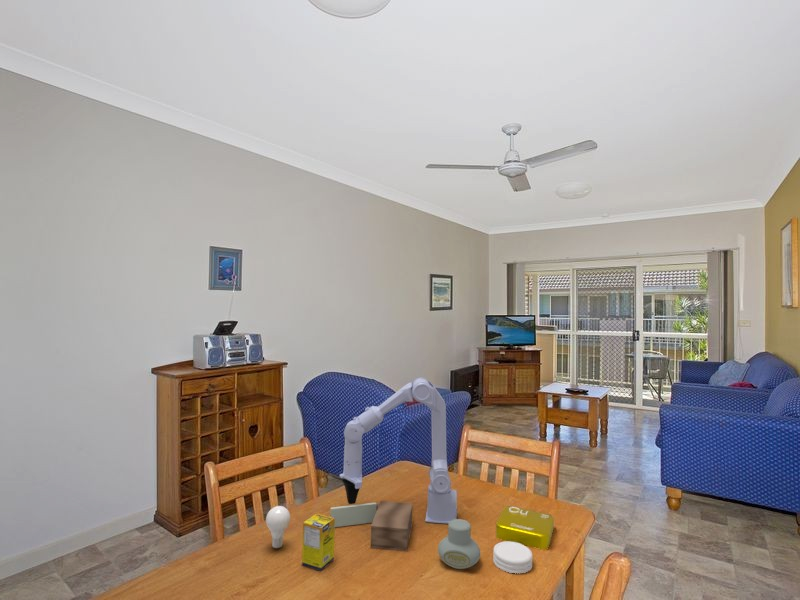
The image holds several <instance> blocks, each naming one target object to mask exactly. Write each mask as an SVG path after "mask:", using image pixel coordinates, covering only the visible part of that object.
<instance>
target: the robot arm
mask: <svg viewBox="0 0 800 600" xmlns="http://www.w3.org/2000/svg"><path fill="white" fill-rule="evenodd" d="M414 400H415V401H417V402H419V403H421V404H424V405H425V406H427V408H428V409H430V411H431V412H430V414H431V415H430V416H431V464H430V465H431V466H430V468H429V470H428V477H429V479H430V483H429V484H428V486H427V509H426V513H425V514H426V515H425V522H426V523H433V524H434V523H435V524H447V525H448V524H449V522H450V521H451V520H454V519H457V516H458V515H459V514H458V512H459V511H458V508H457V507H458V504H457V503H458V501H457V500H458V491H457V489H452V488H451V487H452V480H451V478H450V475H449V470H448V460H447V458H448V457H447V456H448V455H447V405H446V402H445V400H444V399H443V397H442V395H441V394H440V393H439V391H438V390H437V388H436V387H435V385H434V384H433V383H432V382H431V381H429V380H428V379H427V378H425V377H416V378H415V379H414V380H413V381H412V382H408V383H407V384H405V385H403V386H402V387H401V388H400V389H398V390H397V391H396V392H395V393H393V394H392V395H390V397H388V398H387V399H386V400H385V401H383V402H382V403H381V404H380V405H378V406H377V405H376V406H375V405H372V406H367V407H365V410H364V412H362V413H361V414H359V415H358V416H354V417H353V418H352V420H350V421H348V422H347V424H346V425H345V428H344V429H343V436H344V447H343V450H344V451H343V472H342V473H340V474H339V478H340V479H341V481H342V484H343V486H344V490H345V494H346V500H347V503H348V505H355V504H356V502H357V499H358V495H359V492H360V489H363V480H362V479H363V472H362V469H363V467H362V466H363V443H362V442H363V435H365V434H367V433H369V432H370V431H371V430H373V429H374V428H375V427H376V426H378V425H380V424H381V423H382V422H383V421H384V416H385V415H386V414H388V413H389V412H390V411H393V409H395V408H396V407H398V406H399V405H401V404H402V403H404V402H407V403H408V402H411V403H413V402H414Z"/></svg>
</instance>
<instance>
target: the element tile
mask: <svg viewBox="0 0 800 600" xmlns="http://www.w3.org/2000/svg"><path fill="white" fill-rule="evenodd" d="M554 518H555V517H554V516H553V515H552V514H549V513H545V512H541V511H536V510H531V509H527V508H526V509H525V508H522V507H521V508H520V507H516V506H511V505H506V506H505V507H504V508H503V509H502V510H501V513H500V514H499V516H498V518H497V520H496V522H495V538H497V539H498V538H499V539H498V540H500V539H502V540H501V541H504V540H506V541H511V542H517V543H520V544H523V545H527V546H526V547H528V546H532V547H536V548H540V549H539V550H541V549H547V548H548V547H549V548H550V546H549V545H550V544H551V542H552V538H553V534H554V531H553V530H555V529H554V528H555V526H554V525H555V524H554V523H555V519H554ZM552 533H553V534H552ZM551 537H552V538H551ZM550 541H551V542H550ZM532 547H531V548H532ZM536 548H535V549H536ZM549 548H548V549H549ZM548 549H547V550H548Z"/></svg>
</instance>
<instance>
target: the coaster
mask: <svg viewBox="0 0 800 600" xmlns="http://www.w3.org/2000/svg"><path fill="white" fill-rule="evenodd" d="M492 556H493V557H492V558H493V559H492V561H493V564H494V565H495V567H497V568H498V569H499V568H500V569H499V570H501V571H503V572H505V571H506V573H508V572H509V574H512V573H515V574H514V575H521V574H520V573H524V574H526V572H527V573H529V572H530V571H531V569H532V568H533V552H532V550H531V549H530V548H529V547H528V546H524V545H522V544H520V543H517V542H511V541H500V542H498V543H496V544H495V545H494V546H493V554H492ZM528 571H529V572H528ZM516 573H517V574H516ZM518 573H519V574H518Z"/></svg>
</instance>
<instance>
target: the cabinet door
mask: <svg viewBox="0 0 800 600" xmlns="http://www.w3.org/2000/svg"><path fill="white" fill-rule="evenodd" d="M378 506H379V504H378V503H377V502H369V503H361V504H358V503H357V504H349V505H342V506H341V505H340V506H334V507H330V509H329V511H330V512H329V513H330V514H329V517H332V518H335V528H339V527H345V526H356V525H361V524H372V522H373V519H374V517H375V514H376V511H377V509H378Z"/></svg>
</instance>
